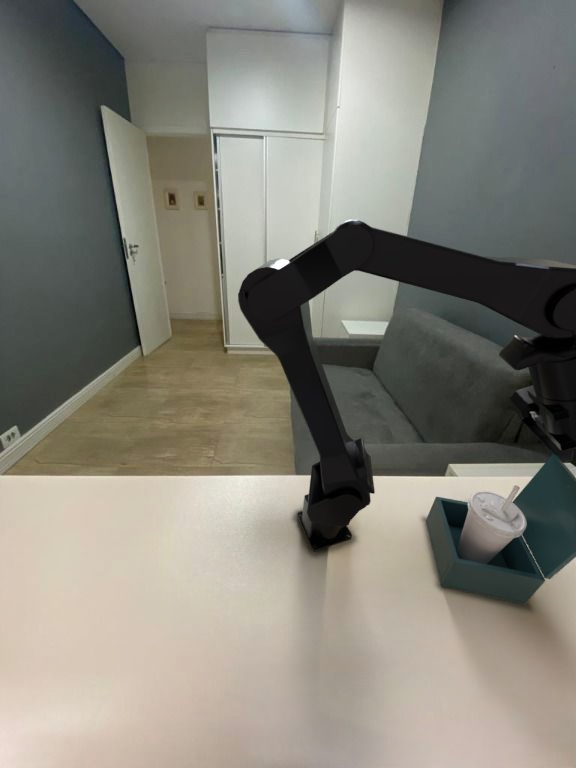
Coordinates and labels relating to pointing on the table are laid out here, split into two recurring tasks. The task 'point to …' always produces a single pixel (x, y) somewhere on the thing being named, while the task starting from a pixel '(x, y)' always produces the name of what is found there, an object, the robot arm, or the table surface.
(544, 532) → the box lid
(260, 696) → the table surface
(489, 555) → the smoothie
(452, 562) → the box
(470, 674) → the table surface
